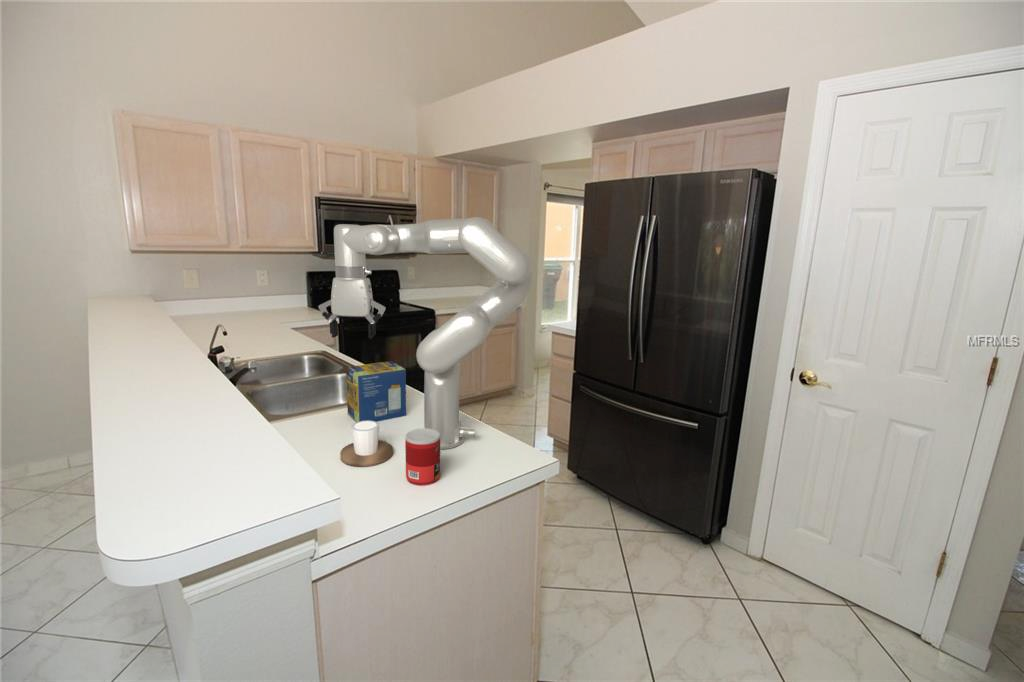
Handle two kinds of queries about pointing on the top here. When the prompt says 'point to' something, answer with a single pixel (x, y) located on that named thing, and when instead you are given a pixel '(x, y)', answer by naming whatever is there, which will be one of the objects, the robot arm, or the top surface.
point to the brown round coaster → (374, 459)
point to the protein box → (376, 391)
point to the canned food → (422, 456)
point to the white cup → (365, 437)
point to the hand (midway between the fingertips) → (353, 337)
